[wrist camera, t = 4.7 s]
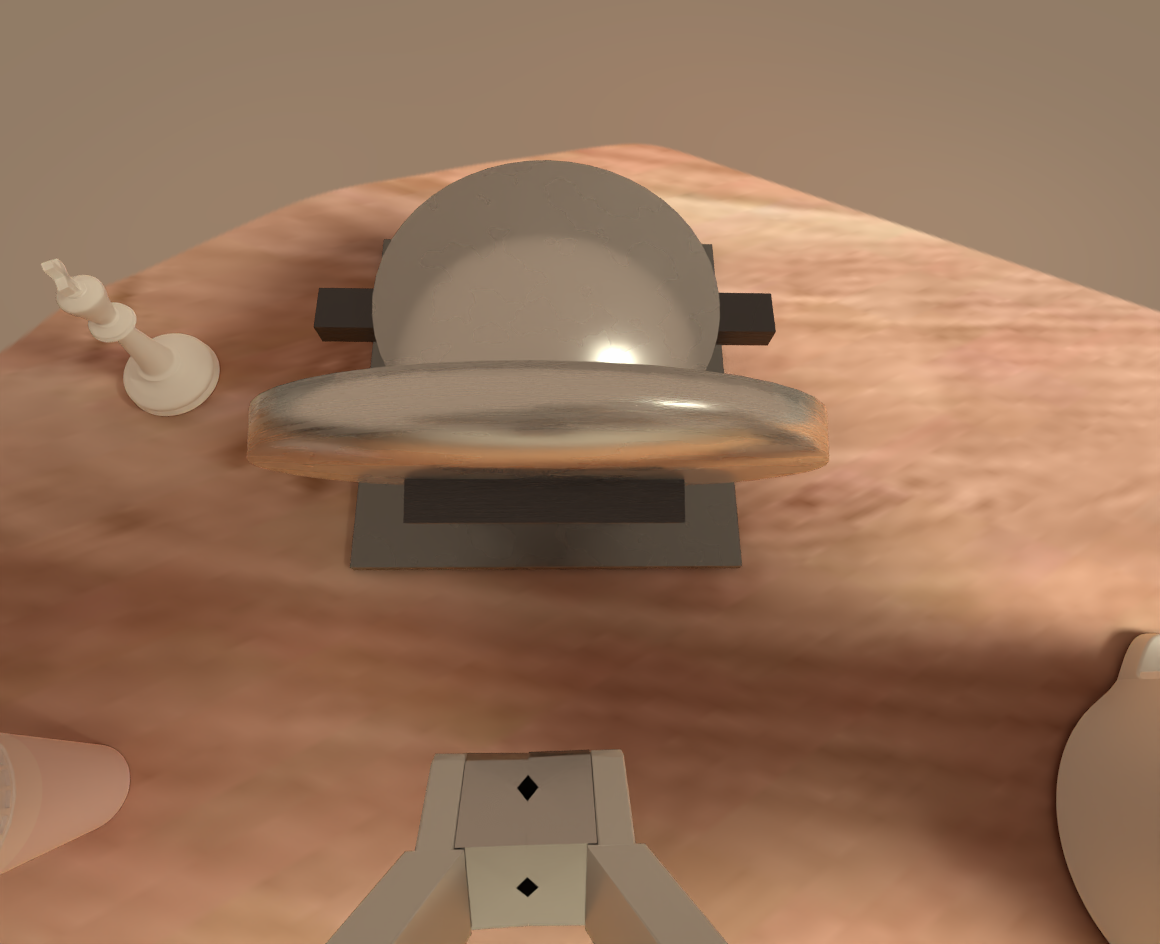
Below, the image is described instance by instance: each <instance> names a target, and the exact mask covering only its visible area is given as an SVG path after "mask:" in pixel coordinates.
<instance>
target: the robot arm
mask: <svg viewBox="0 0 1160 944" xmlns="http://www.w3.org/2000/svg"><path fill="white" fill-rule="evenodd" d="M1056 809H1057V821H1058V829H1059V834H1060V840H1061V844H1062V848H1063V852H1064V856H1065V859H1066V862H1067V866H1068V869H1069V871H1070V874H1071V877H1072V879H1073V882H1074V884H1075V886H1076V889H1077V891H1078V893H1079V895H1080V897H1081V899H1082V901H1083V903H1084V905H1085V907H1086V909H1087V910H1088V912H1089V914H1090V915H1091V917H1092V919H1093V920H1094V922H1095V923H1096V925H1097V926H1098V928H1099V929H1100V931H1101V932H1102V934H1103V935H1104V936H1105V938H1106V939H1107V940H1108V942H1109V943H1110V944H1160V634H1157V633H1147V634H1141V635H1139V636H1137V637H1136V638H1135V639H1134V640H1133V641H1132V642H1131V644H1130V646H1129V648H1128V650H1127V652H1126V655H1125V657H1124V660H1123V663H1122V666H1121V669H1120V672H1119V675H1118V679H1117V681H1116V682H1115V683H1114V685H1113V686H1112V687H1111V688H1110V690H1109V691H1108V692H1107V693H1106V694H1104V695H1103V696H1102V697H1101V698H1100V699H1099V700H1098V701H1097V702H1096V703H1094V704H1093V705H1092V706H1091V707H1090V708H1089V709H1088V710H1087V712H1086V713H1085V714H1084V715H1083V716H1082V718H1081V719H1080V720H1079V722H1078V723H1077V725H1076V726H1075V728H1074V729H1073V731H1072V733H1071V735H1070V737H1069V739H1068V741H1067V744H1066V747H1065V749H1064V752H1063V755H1062V759H1061V763H1060V767H1059V772H1058V779H1057V791H1056ZM528 923H529V926H568V925H585V929H586V931H587V933H588V935H589V936H590V938H591V940H592V942H593V943H594V944H728V943H727V942H726V941H725V939H724V938H723V937H722V936H721V935H720V933H719V932H718V931H717V930H716V929H715V927H714V926H713V925H712V924H711V923H710V921H709V920H708V919H707V918H706V916H705V915H704V914H703V913H702V912H701V910H700V909H699V908H698V907H697V906H696V904H695V903H694V902H693V901H692V900H691V898H690V897H689V896H688V895H687V893H686V892H685V891H684V890H683V889H682V887H681V886H680V885H679V884H678V883H677V881H676V880H675V879H674V878H673V876H672V875H671V874H670V873H669V872H668V870H667V869H666V868H665V867H664V866H663V864H662V863H661V862H660V861H659V860H658V858H657V857H656V856H655V855H654V853H653V852H652V851H651V850H650V849H649V847H648V846H647V845H646V844H645V843H636V842H635V835H634V827H633V820H632V812H631V805H630V797H629V790H628V782H627V775H626V767H625V760H624V754H623V752H622V750H621V749H614V750H591V751H590V750H570V751H545V752H529V753H463V754H435V756H434V758H433V760H432V763H431V767H430V773H429V778H428V783H427V789H426V794H425V799H424V805H423V810H422V815H421V821H420V826H419V831H418V837H417V842H416V847H415V851H405V852H404V853H403V854H402V856H401V857H400V858H399V859H398V860H397V861H396V863H395V864H394V865H393V866H392V867H391V868H390V870H389V871H388V872H387V873H386V874H385V875H384V876H383V878H382V879H381V880H380V881H379V882H378V883H377V885H376V886H375V887H374V888H373V889H372V890H371V892H370V893H369V894H368V895H367V896H366V897H365V899H364V900H363V901H362V902H361V903H360V904H359V906H358V907H357V908H356V909H355V910H354V911H353V913H352V914H351V915H350V916H349V917H348V918H347V920H346V921H345V922H344V923H343V924H342V925H341V927H340V928H339V929H338V930H337V931H336V932H335V934H334V935H333V936H332V937H331V938H330V939H329V941H328V942H327V943H326V944H466V942H467V941H468V939H469V937H470V936H471V930H476V929H490V928H505V927H519V926H528Z"/></svg>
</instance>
